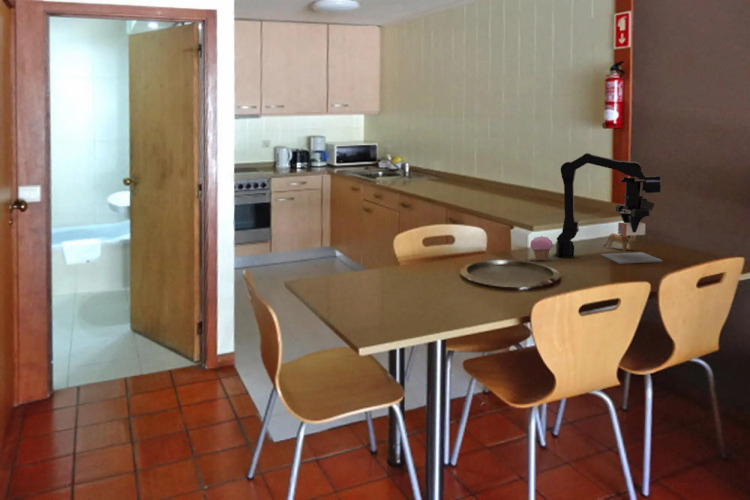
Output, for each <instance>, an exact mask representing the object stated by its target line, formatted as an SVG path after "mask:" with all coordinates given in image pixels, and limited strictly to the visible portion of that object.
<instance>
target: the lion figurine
mask: <svg viewBox="0 0 750 500" xmlns="http://www.w3.org/2000/svg"><path fill="white" fill-rule="evenodd" d="M608 235H609V236H608V238H607V241H606V243H605V244H603V247H607V245H608V248H610V250H613V249H614V248H613V247H612V244H614V243H617V244H621V247H622V251H623V252H625V251H628V250H629V249H628V245H630V244H632V242H635V240H636V237H637V235H627V236H623V235H620V234H618V233H617V234H616V233H610V234H608Z"/></svg>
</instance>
